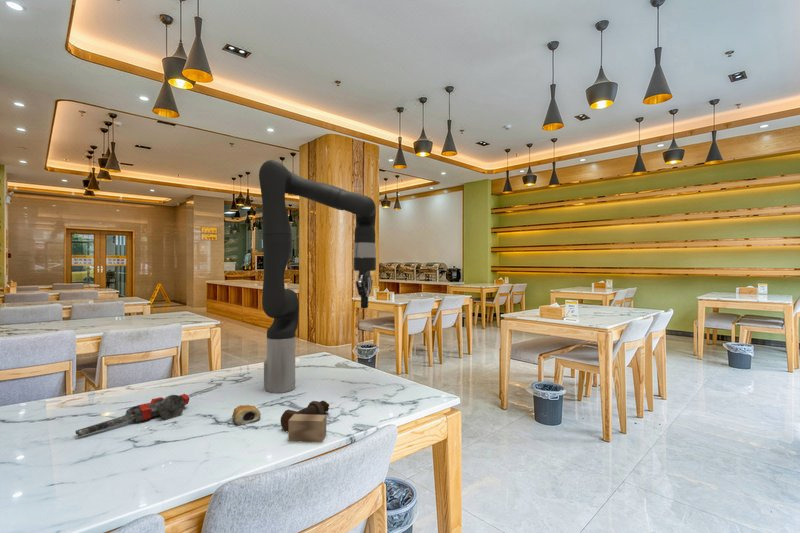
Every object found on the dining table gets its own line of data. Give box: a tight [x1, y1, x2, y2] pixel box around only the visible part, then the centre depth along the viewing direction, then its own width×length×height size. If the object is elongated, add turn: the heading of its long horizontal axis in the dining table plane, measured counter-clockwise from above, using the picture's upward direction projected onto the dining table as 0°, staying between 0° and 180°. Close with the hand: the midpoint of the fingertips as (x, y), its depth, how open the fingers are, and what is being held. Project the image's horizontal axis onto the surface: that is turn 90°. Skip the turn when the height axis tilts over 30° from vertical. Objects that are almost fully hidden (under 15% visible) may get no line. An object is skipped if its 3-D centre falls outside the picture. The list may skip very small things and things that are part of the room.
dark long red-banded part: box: [75, 393, 190, 438], centre depth 106 cm, size 6×26×15 cm
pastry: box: [231, 404, 262, 426], centre depth 107 cm, size 9×7×4 cm
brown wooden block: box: [287, 414, 327, 443], centre depth 94 cm, size 8×4×5 cm, turn 87°
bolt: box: [280, 400, 330, 432], centre depth 105 cm, size 6×5×15 cm
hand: (364, 308), depth 133 cm, fingers closed
